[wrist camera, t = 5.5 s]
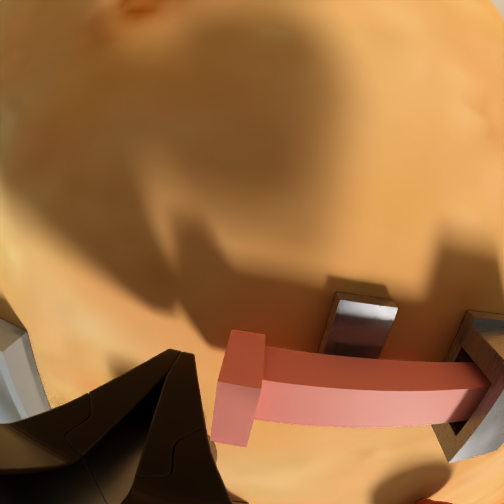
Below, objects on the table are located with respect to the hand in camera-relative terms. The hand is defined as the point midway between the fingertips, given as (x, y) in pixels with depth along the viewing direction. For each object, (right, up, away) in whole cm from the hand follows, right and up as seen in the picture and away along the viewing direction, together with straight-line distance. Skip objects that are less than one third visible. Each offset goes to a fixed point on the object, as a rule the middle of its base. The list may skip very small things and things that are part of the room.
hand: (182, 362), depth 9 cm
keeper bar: (+9, -1, +1) cm, 9 cm away
